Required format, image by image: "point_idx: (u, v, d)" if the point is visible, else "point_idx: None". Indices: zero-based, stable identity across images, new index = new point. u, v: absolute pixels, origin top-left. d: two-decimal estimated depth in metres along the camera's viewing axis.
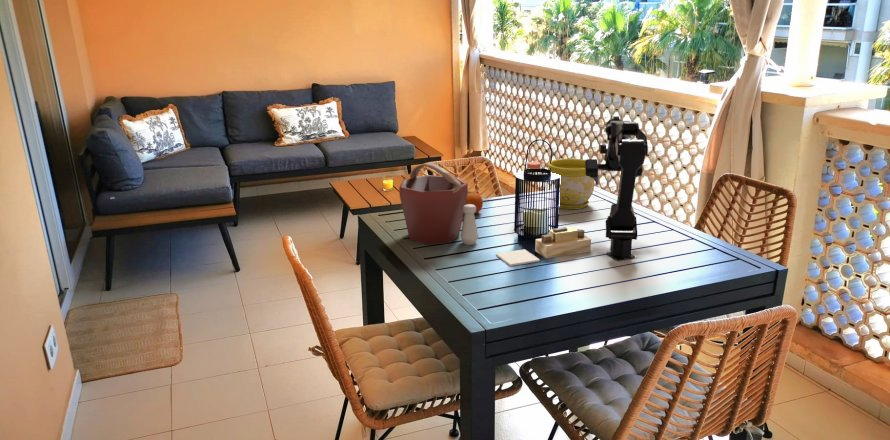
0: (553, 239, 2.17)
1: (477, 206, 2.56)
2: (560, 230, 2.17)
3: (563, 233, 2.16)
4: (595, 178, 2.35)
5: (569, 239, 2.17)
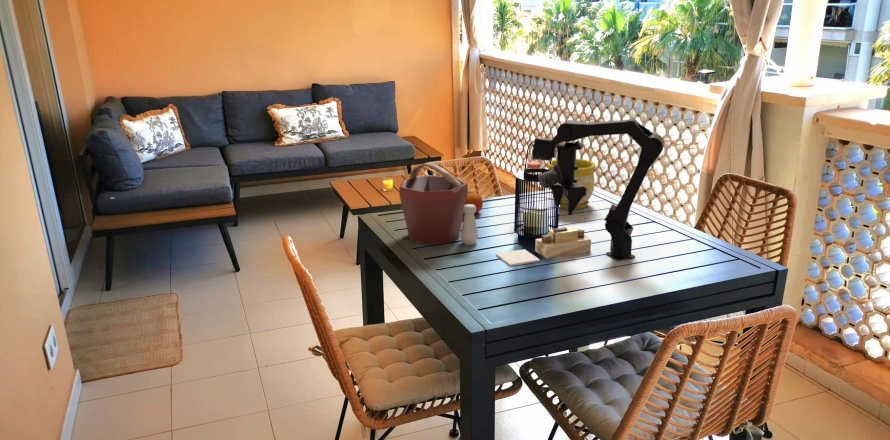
0: (553, 239, 2.17)
1: (477, 206, 2.56)
2: (560, 230, 2.17)
3: (563, 233, 2.16)
4: None
5: (569, 239, 2.17)
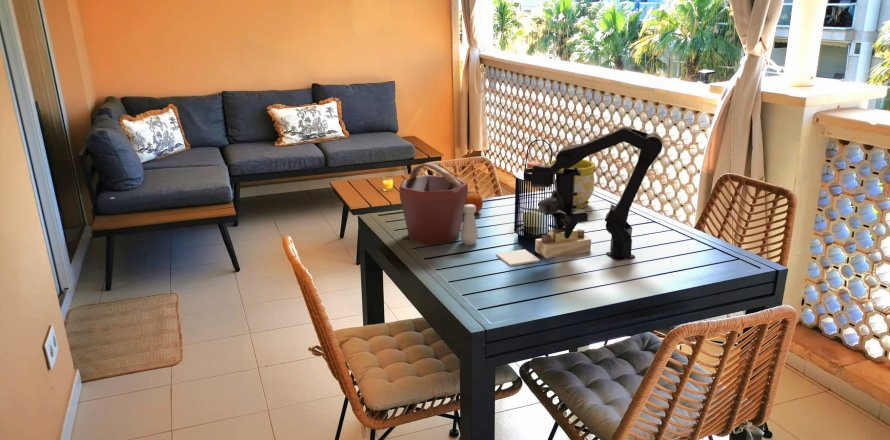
0: (553, 239, 2.17)
1: (477, 206, 2.56)
2: (560, 230, 2.17)
3: (563, 233, 2.16)
4: None
5: (569, 239, 2.17)
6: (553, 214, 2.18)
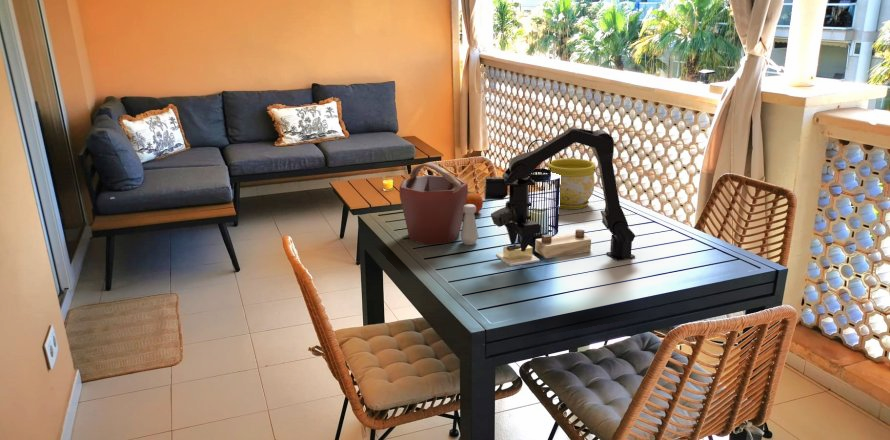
0: (507, 257, 2.12)
1: (477, 206, 2.56)
2: (514, 247, 2.12)
3: (517, 250, 2.12)
4: None
5: (523, 256, 2.13)
6: (505, 224, 2.15)
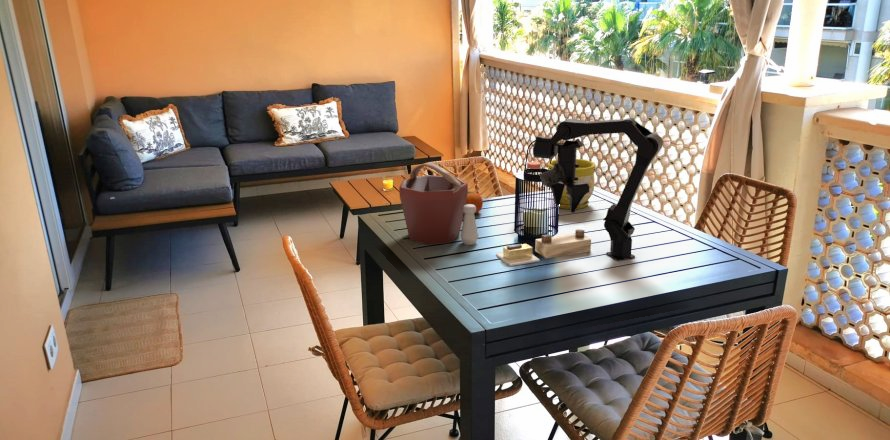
0: (507, 257, 2.12)
1: (477, 206, 2.56)
2: (514, 247, 2.12)
3: (517, 250, 2.12)
4: None
5: (523, 256, 2.13)
6: None
